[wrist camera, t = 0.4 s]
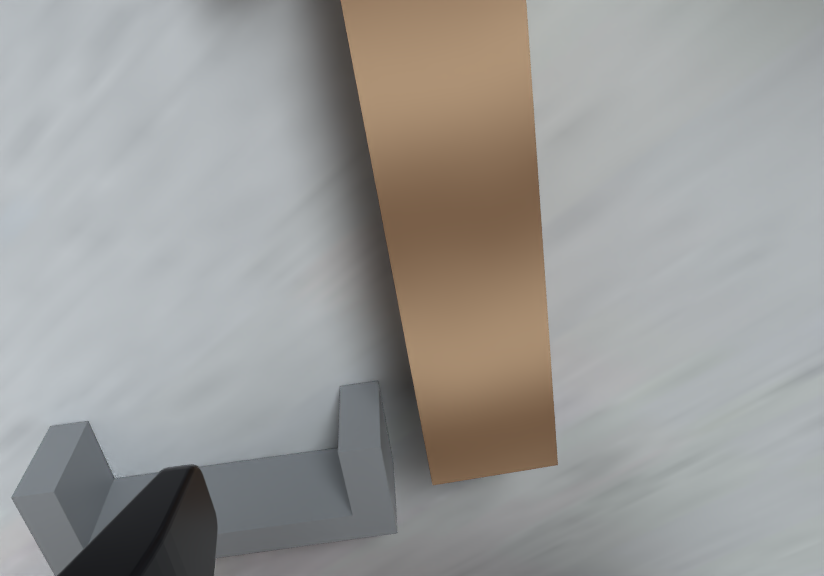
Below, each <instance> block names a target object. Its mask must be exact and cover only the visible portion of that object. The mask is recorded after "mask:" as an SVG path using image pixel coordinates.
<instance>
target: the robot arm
mask: <svg viewBox="0 0 824 576" xmlns="http://www.w3.org/2000/svg"><path fill="white" fill-rule="evenodd" d="M217 532H218V524H217V516H216V512H215V509H214V506H213V503H212V500H211V497H210V494H209V491H208V488H207V485H206V482H205V479H204V476H203V473H202V471H201V470H200V468H199V467H198V466H196V465H194V464H190V465H183V466H175V467H168V468H165V469H163V470H161V471H160V472H159V473H158V474H157V475H156V476H155V477H154V478H153V479H152V480H151V481H150V482H149V483H148V484H147V485H146V486H145V487H144V488H143V489H142V490H141V491H140V492H139V493H138V494H137V495H136V496H135V497H134V498H133V499H132V500H131V501H130V502H129V503H128V504H127V505H126V506H125V507H124V508H123V509H122V510H121V511H120V512H119V513H118V514H117V515H116V516H115V517H114V518H113V519H112V520H111V521H110V522H109V523H108V524H107V525H106V526H105V527H104V528H103V529H102V530H101V531H100V532H99V533H98V534H97V535H96V536H95V537H94V538H93V539H92V540H91V542H90V543H89V544H88V545H87V546H86V547H85V548H84V549H83V550H82V551H81V552H80V553H79V554H78V555H77V556H76V557H75V558H74V559H73V560H72V561H71V562H70V563H69V564H68V565H67V566H66V567H65V568H64V569H63V570H62V571H61V572H60V573H59V574H58V575H57V576H214V568H215V556H216V545H217Z"/></svg>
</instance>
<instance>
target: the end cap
mask: <svg viewBox="0 0 824 576" xmlns="http://www.w3.org/2000/svg"><path fill="white" fill-rule="evenodd" d="M199 468H200V470H201V471H202V473H203V476H204V479H205V482H206V485H207V488H208V491H209V494H210V497H211V500H212V503H213V506H214V509H215V512H216V516H217V524H218V532H217V545H216V556H215V558H221V557H228V556H235V555H243V554H250V553H257V552H264V551H272V550H279V549H286V548H294V547H301V546H308V545H315V544H323V543H330V542H337V541H345V540H352V539H359V538H366V537H374V536H381V535H388V534H396V533H398V532H397V515H396V498H395V481H394V464H393V458H392V452H391V447H390V442H389V436H388V431H387V425H386V420H385V415H384V409H383V404H382V399H381V393H380V388H379V382H378V381H373V382H366V383H359V384H352V385H344V386H340V408H339V437H338V448H333V449H326V450H319V451H311V452H304V453H297V454H290V455H282V456H275V457H268V458H261V459H254V460H246V461H239V462H232V463H225V464H217V465H210V466H203V467H199ZM157 474H158V473H152V474H145V475H138V476H130V477H123V478H116V479H114V477H113V475H112V473H111V471H110V468H109V466H108V464H107V462H106V460H105V457H104V455H103V453H102V451H101V449H100V446H99V444H98V442H97V440H96V438H95V435H94V433H93V431H92V429H91V427H90V424H89V422H88V421H85V422H78V423H71V424H63V425H56V426H50V428H49V430H48V431H47V433H46V435H45V437H44V439H43V441H42V442H41V444H40V446H39V448H38V450H37V452H36V453H35V455H34V457H33V459H32V461H31V462H30V464H29V466H28V468H27V470H26V472H25V473H24V475H23V477H22V479H21V481H20V483H19V484H18V486H17V488H16V490H15V492H14V494H13V495H12V497H11V498H12V500H13V502H14V504H15V505H16V507H17V509H18V511H19V512H20V514H21V516H22V518H23V520H24V521H25V523H26V525H27V527H28V528H29V530H30V532H31V534H32V536H33V537H34V539H35V541H36V543H37V545H38V546H39V548H40V550H41V552H42V553H43V555H44V557H45V559H46V561H47V562H48V564H49V566H50V568H51V569H52V571H53V573H54V575H55V576H57V575H58V574H59V573H60V572H61V571H62V570H63V569H64V568H65V567H66V566H67V565H68V564H69V563H70V562H71V561H72V560H73V559H74V558H75V557H76V556H77V555H78V554H79V553H80V552H81V551H82V550H83V549H84V548H85V547H86V546H87V545H88V544H89V543H90V542H91V540H92V539H93V538H94V537H95V536H96V535H97V534H98V533H99V532H100V531H101V530H102V529H103V528H104V527H105V526H106V525H107V524H108V523H109V522H110V521H111V520H112V519H113V518H114V517H115V516H116V515H117V514H118V513H119V512H120V511H121V510H122V509H123V508H124V507H125V506H126V505H127V504H128V503H129V502H130V501H131V500H132V499H133V498H134V497H135V496H136V495H137V494H138V493H139V492H140V491H141V490H142V489H143V488H144V487H145V486H146V485H147V484H148V483H149V482H150V481H151V480H152V479H153V478H154V477H155V476H156V475H157Z"/></svg>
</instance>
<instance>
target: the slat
mask: <svg viewBox="0 0 824 576" xmlns="http://www.w3.org/2000/svg"><path fill="white" fill-rule="evenodd" d="M341 6H342V11H343V16H344V21H345V27H346V32H347V37H348V42H349V48H350V53H351V58H352V63H353V69H354V74H355V79H356V84H357V90H358V95H359V100H360V106H361V111H362V116H363V121H364V127H365V132H366V137H367V142H368V148H369V153H370V158H371V163H372V169H373V174H374V179H375V184H376V190H377V195H378V200H379V205H380V211H381V216H382V221H383V227H384V232H385V237H386V242H387V248H388V253H389V258H390V263H391V269H392V274H393V279H394V284H395V290H396V295H397V300H398V305H399V311H400V316H401V321H402V326H403V332H404V337H405V342H406V348H407V353H408V358H409V363H410V369H411V374H412V379H413V384H414V390H415V395H416V400H417V405H418V411H419V416H420V421H421V426H422V432H423V437H424V442H425V447H426V453H427V458H428V463H429V469H430V474H431V479H432V484H433V485H438V484H444V483H450V482H456V481H462V480H469V479H475V478H481V477H487V476H493V475H499V474H505V473H512V472H518V471H524V470H530V469H536V468H542V467H548V466H554V465H558V460H557V445H556V431H555V416H554V401H553V387H552V372H551V357H550V343H549V328H548V313H547V299H546V284H545V270H544V255H543V240H542V226H541V211H540V196H539V182H538V167H537V152H536V138H535V123H534V108H533V94H532V79H531V64H530V50H529V35H528V20H527V6H526V0H341Z"/></svg>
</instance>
